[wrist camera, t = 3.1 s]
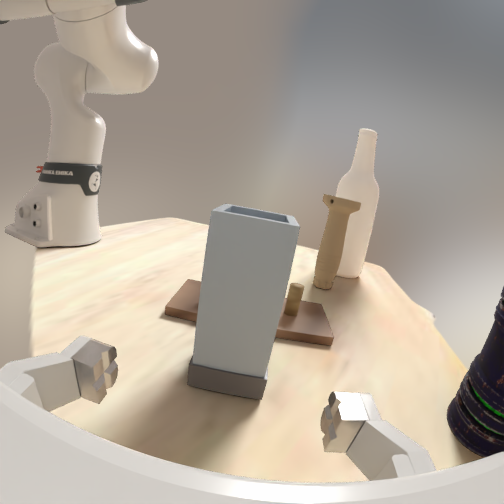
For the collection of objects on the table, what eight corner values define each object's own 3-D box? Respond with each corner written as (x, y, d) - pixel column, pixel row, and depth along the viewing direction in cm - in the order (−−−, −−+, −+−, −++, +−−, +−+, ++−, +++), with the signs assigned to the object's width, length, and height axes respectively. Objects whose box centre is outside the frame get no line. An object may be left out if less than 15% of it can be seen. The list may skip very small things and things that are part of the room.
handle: (318, 278, 52) (337, 196, 49) (344, 292, 47) (366, 204, 44) (299, 280, 50) (318, 192, 46) (325, 295, 45) (348, 199, 41)
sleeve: (187, 386, 20) (207, 210, 17) (202, 348, 25) (223, 202, 22) (261, 401, 20) (303, 227, 17) (263, 360, 25) (296, 216, 22)
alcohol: (312, 266, 60) (340, 122, 53) (332, 263, 66) (358, 134, 59) (348, 281, 54) (380, 126, 47) (366, 276, 60) (394, 139, 53)
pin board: (165, 314, 30) (168, 275, 29) (187, 285, 39) (191, 253, 38) (331, 345, 30) (343, 308, 29) (319, 310, 38) (328, 279, 37)
